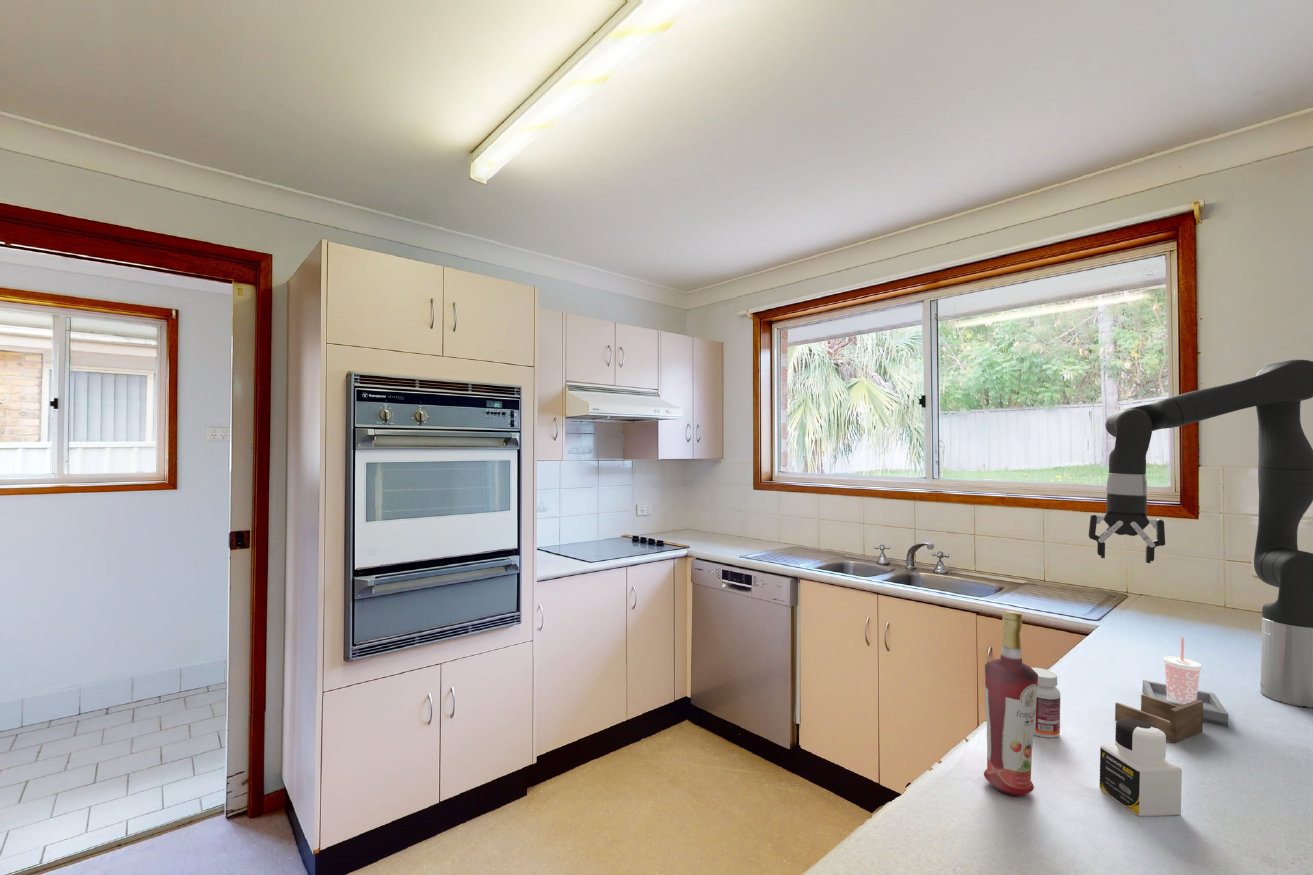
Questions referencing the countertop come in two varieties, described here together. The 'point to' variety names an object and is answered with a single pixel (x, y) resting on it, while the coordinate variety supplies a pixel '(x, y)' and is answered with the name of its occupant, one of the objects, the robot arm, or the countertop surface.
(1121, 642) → the countertop surface
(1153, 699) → the walnut bay
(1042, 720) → the pill bottle
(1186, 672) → the beverage cup
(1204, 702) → the grey tray
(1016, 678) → the liquor
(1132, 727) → the medicine bottle
